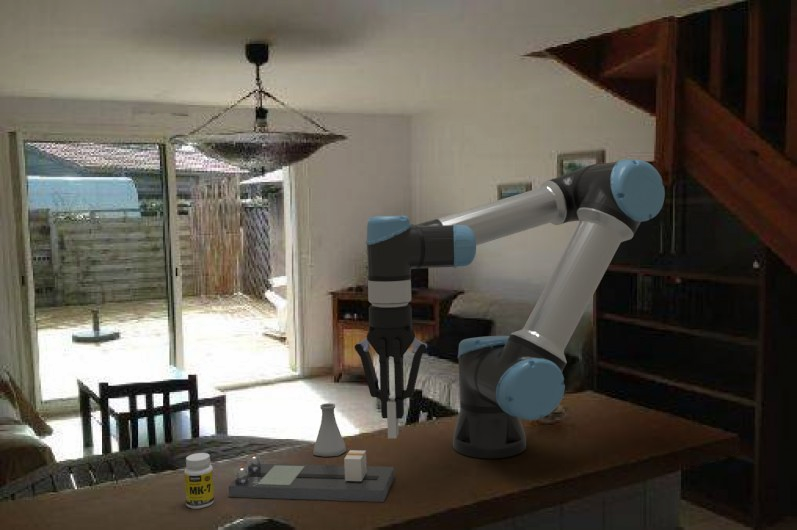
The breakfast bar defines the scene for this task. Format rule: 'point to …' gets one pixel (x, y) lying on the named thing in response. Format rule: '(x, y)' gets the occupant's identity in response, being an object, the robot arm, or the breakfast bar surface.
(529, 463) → the breakfast bar surface
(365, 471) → the fader
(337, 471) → the console
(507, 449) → the robot arm
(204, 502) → the supplement bottle
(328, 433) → the flask
